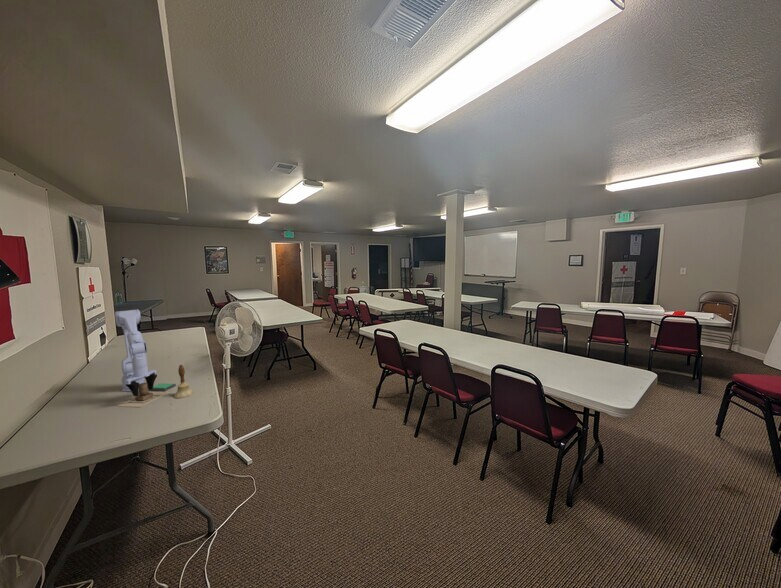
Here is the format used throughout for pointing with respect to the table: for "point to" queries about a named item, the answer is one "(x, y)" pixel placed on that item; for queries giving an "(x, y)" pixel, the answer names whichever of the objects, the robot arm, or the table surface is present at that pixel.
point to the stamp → (143, 393)
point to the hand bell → (183, 385)
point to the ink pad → (162, 387)
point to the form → (141, 403)
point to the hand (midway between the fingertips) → (143, 392)
